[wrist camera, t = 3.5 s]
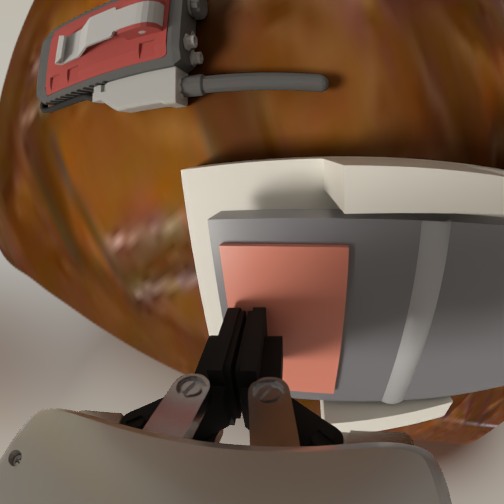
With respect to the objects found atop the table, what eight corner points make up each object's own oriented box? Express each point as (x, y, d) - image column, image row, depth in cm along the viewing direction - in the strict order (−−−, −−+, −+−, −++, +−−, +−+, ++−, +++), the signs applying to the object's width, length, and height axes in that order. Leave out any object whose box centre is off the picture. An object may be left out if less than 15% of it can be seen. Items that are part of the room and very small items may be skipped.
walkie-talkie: (53, 136, 16) (325, 105, 14) (13, 141, 12) (339, 91, 10) (60, 41, 13) (318, -12, 11) (24, 32, 9) (325, -49, 6)
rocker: (550, 221, 7) (571, 234, 6) (502, 366, 11) (512, 386, 9) (223, 209, 13) (204, 221, 11) (245, 370, 16) (234, 393, 14)
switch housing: (507, 170, 12) (579, 193, 5) (475, 332, 17) (513, 389, 10) (196, 166, 16) (129, 184, 9) (225, 354, 21) (202, 432, 14)
